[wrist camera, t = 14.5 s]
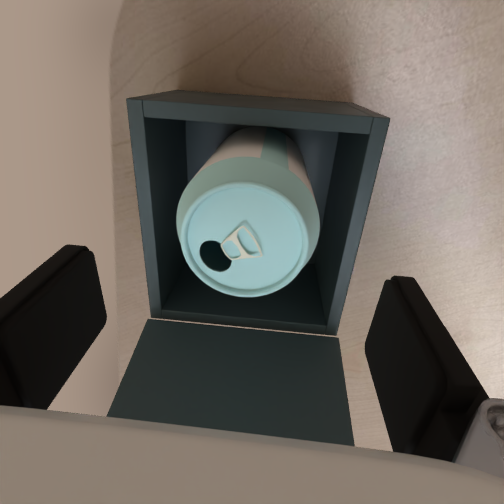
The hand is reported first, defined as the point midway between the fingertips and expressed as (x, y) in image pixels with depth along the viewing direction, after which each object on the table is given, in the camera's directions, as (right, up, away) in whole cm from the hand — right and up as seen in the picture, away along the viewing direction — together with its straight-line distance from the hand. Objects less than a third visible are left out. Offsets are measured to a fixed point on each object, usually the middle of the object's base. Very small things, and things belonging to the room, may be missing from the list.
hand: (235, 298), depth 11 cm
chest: (+1, +7, +16) cm, 17 cm away
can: (+1, +8, +15) cm, 16 cm away
